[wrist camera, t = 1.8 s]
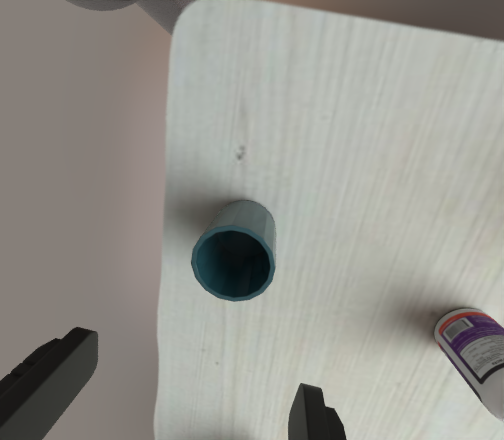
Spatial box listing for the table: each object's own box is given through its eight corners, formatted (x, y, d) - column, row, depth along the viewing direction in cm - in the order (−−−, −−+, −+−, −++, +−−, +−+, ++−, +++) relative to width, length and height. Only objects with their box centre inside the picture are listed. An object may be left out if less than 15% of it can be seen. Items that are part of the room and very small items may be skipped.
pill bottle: (489, 349, 26) (605, 468, 17) (431, 352, 27) (511, 467, 17) (495, 303, 24) (627, 407, 15) (433, 308, 25) (523, 409, 16)
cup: (202, 220, 24) (175, 252, 18) (253, 187, 23) (243, 209, 16) (237, 267, 26) (223, 313, 19) (287, 239, 24) (291, 278, 18)
